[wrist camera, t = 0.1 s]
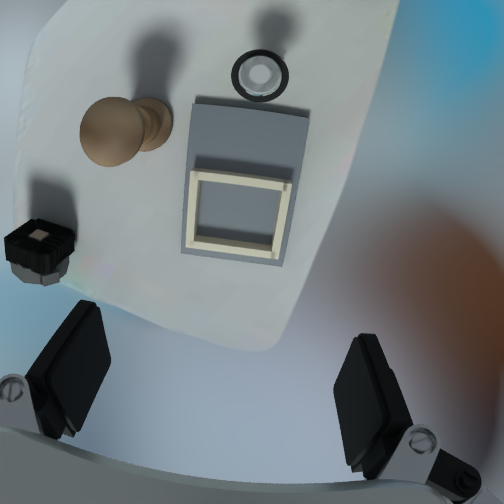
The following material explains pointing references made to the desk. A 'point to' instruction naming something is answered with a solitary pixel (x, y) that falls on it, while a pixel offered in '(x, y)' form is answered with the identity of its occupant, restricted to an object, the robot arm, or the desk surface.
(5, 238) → the cpu cooler
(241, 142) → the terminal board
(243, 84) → the push button
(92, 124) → the wooden cabinet knob
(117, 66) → the desk surface
